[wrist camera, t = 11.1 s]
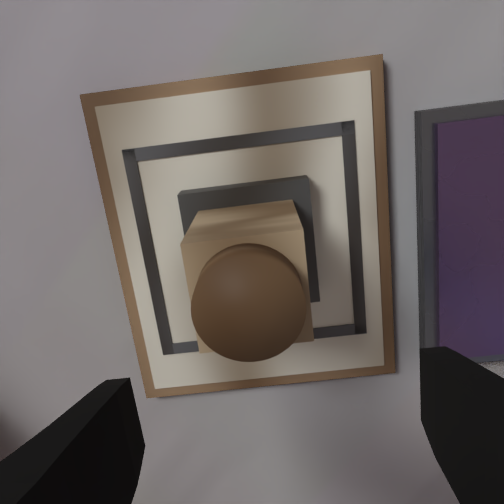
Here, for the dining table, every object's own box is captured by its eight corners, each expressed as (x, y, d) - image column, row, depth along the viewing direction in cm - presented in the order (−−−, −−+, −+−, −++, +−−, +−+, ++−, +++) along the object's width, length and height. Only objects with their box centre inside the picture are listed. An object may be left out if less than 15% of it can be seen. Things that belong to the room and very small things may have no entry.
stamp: (306, 174, 19) (332, 212, 12) (317, 292, 20) (344, 379, 14) (181, 190, 19) (142, 234, 12) (200, 305, 20) (174, 397, 14)
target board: (378, 55, 18) (383, 53, 17) (391, 365, 22) (396, 374, 21) (84, 94, 18) (78, 94, 18) (149, 390, 22) (146, 400, 22)
